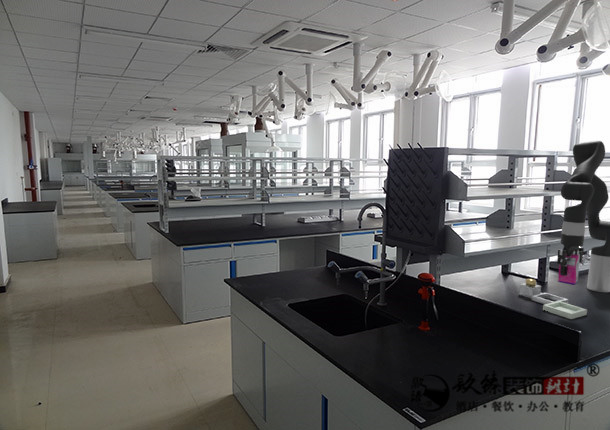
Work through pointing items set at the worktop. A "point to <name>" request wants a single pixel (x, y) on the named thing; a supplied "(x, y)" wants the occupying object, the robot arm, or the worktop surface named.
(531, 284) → the yellow knob
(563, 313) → the tray
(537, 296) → the socket block
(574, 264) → the supplement box
